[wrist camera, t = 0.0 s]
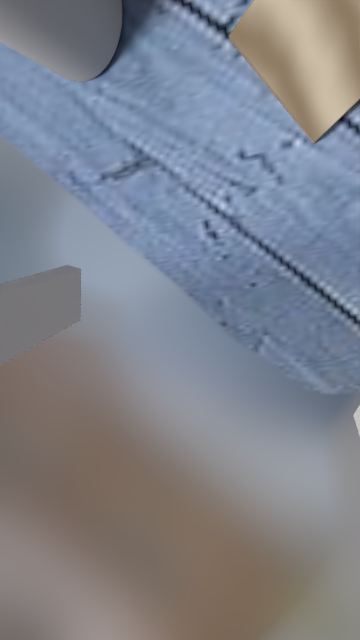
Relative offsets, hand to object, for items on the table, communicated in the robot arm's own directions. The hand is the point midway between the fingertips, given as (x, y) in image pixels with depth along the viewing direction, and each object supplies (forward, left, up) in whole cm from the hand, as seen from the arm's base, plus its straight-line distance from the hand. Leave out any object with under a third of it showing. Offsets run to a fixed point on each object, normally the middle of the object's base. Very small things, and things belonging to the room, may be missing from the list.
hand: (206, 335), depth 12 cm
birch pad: (-22, +1, -28) cm, 35 cm away
